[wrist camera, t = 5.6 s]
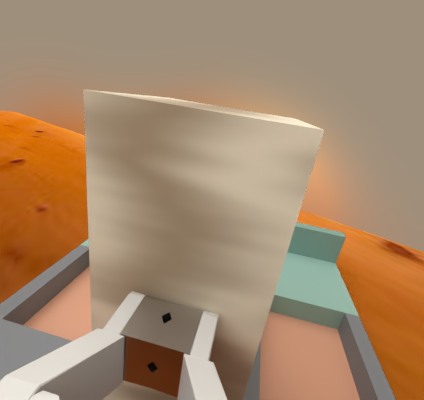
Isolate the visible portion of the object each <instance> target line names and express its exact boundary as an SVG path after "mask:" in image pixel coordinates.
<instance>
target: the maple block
mask: <svg viewBox="0 0 424 400" xmlns="http://www.w3.org/2000/svg"><path fill="white" fill-rule="evenodd" d="M84 114H85V144H86V175H87V205H88V235H89V265H90V296H91V326H92V331H94V330H96V329H98V328H99V329H103V328H104V327H105V325H106V324H107V323H108V321H109V320H110V319H111V317H112V316H113V314H114V313H115V312H116V310H117V309H118V308H119V306H120V305H121V304H122V302H123V301H124V300H125V298H126V297H127V296H128V294H129V293H131V292H132V291H134V292H137V293H141V294H144V295H148V296H152V297H155V298H158V299H162V300H165V301H168V302H172V303H176V304H180V305H184V306H188V307H192V308H195V309H199V310H203V311H207V312H211V313H215V314H218V315H219V318H218V323H217V327H216V332H215V337H214V342H213V347H212V352H211V356H210V362H213V363H214V365H215V367H216V370H217V373H218V376H219V378H220V381H221V384H222V386H223V389H224V392H225V395H226V397H227V400H243V397H244V393H245V390H246V387H247V383H248V380H249V377H250V373H251V370H252V367H253V364H254V360H255V357H256V354H257V350H258V347H259V344H260V341H261V337H262V334H263V331H264V327H265V324H266V321H267V317H268V314H269V311H270V308H271V304H272V301H273V298H274V294H275V291H276V288H277V284H278V281H279V278H280V275H281V271H282V268H283V265H284V261H285V258H286V255H287V252H288V248H289V245H290V242H291V238H292V235H293V232H294V228H295V225H296V222H297V219H298V215H299V212H300V208H301V205H302V202H303V198H304V196H305V192H306V189H307V185H308V182H309V179H310V175H311V172H312V169H313V165H314V163H315V159H316V156H317V152H318V149H319V146H320V143H321V139H322V136H323V133H324V130H323V129H321V128H318V127H315V126H313V125H310V124H307V123H305V122H303V121H300V120H297V119H294V118H287V117H282V116H276V115H270V114H263V113H257V112H251V111H244V110H239V109H233V108H227V107H221V106H215V105H208V104H203V103H197V102H191V101H185V100H178V99H172V98H164V97H155V96H145V95H134V94H124V93H113V92H103V91H93V90H84ZM103 400H177V397H174V396H171V395H168V394H165V393H163V392H160V391H157V390H154V389H151V388H148V387H145V386H141V385H138V384H134V383H131V382H127V381H123V383H122V384H121V385H120V386H118V387H117V388H116V389H115V390H114V391H112V392H111V393H110V394H109V395H108V396H106V397H105V398H104V399H103Z"/></svg>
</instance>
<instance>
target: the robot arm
mask: <svg viewBox="0 0 424 400" xmlns="http://www.w3.org/2000/svg"><path fill="white" fill-rule="evenodd" d="M218 318H219V315H218V314H215V313H211V312H207V311H203V310H199V309H195V308H192V307H188V306H184V305H180V304H176V303H172V302H168V301H165V300H162V299H158V298H155V297H152V296H148V295H144V294H141V293H137V292H134V291H132V292H131V293H129V294H128V296H127V297H126V298H125V300H124V301H123V302H122V304H121V305H120V306H119V308H118V309H117V310H116V312H115V313H114V314H113V316H112V317H111V319H110V320H109V321H108V323H107V324H106V325H105V327H104V328H103V329H99V328H98V329H96V330H94V331H92V332H90V333H88V334H86V335H84V336H82V337H80V338H78V339H76V340H74V341H72V342H70V343H68V344H66V345H64V346H62V347H60V348H58V349H56V350H54V351H52V352H50V353H48V354H47V355H45V356H43V357H41V358H39V359H37V360H35V361H33V362H31V363H29V364H27V365H25V366H23V367H21V368H19V369H17V370H15V371H13V372H11V373H9V374H7V375H6V376H5V377H4V378H3V379H2V380H1V381H0V400H103V399H104V398H105V397H106V396H108V395H109V394H110V393H111V392H112V391H114V390H115V389H116V388H117V387H118V386H120V385H121V384H122V383H123V381H127V382H131V383H134V384H138V385H141V386H145V387H148V388H151V389H154V390H157V391H160V392H163V393H165V394H168V395H171V396H174V397H177V400H227V397H226V395H225V392H224V389H223V386H222V384H221V381H220V378H219V376H218V373H217V370H216V367H215V365H214V363H213V362H210V356H211V352H212V347H213V342H214V337H215V332H216V327H217V323H218Z"/></svg>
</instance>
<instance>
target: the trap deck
mask: <svg viewBox="0 0 424 400" xmlns="http://www.w3.org/2000/svg"><path fill="white" fill-rule="evenodd" d="M345 238H346V237H345V235H344V234H343V232H338V231H333V230H329V229H324V228H320V227H315V226H310V225H306V224H301V223H297V222H296V225H295V228H294V232H293V235H292V238H291V242H290V245H289V248H288V252H287V255H286V258H285V261H284V265H283V268H282V271H281V275H280V278H279V281H278V284H277V288H276V291H275V294H274V298H273V301H272V304H271V308H270V311H269V314H268V317H267V321H266V324H265V327H264V331H263V334H262V337H261V341H260V344H259V347H258V350H257V354H256V357H255V360H254V364H253V367H252V370H251V373H250V377H249V380H248V383H247V387H246V390H245V393H244V397H243V400H396V399H395V397H394V395H393V392H392V390H391V388H390V386H389V383H388V381H387V379H386V376H385V374H384V372H383V370H382V367H381V365H380V363H379V361H378V358H377V356H376V354H375V352H374V349H373V347H372V345H371V343H370V340H369V338H368V336H367V333H366V331H365V329H364V327H363V324H362V322H361V320H360V318H359V315H358V313H357V311H356V309H355V306H354V304H353V302H352V300H351V297H350V295H349V293H348V290H347V288H346V286H345V284H344V281H343V279H342V277H341V275H340V272H339V270H338V268H337V266H336V261H337V258H338V256H339V253H340V251H341V248H342V245H343V243H344V240H345ZM90 332H92V326H91V296H90V265H89V239H88V240H86V241H85V242H84V243H82V244H81V245H79V246H78V247H77V248H75V249H74V250H73V251H71V252H70V253H69V254H67V255H66V256H65V257H63V258H62V259H61V260H59V261H58V262H57V263H55V264H54V265H52V266H51V267H50V268H48V269H47V270H46V271H44V272H43V273H42V274H40V275H39V276H38V277H36V278H35V279H34V280H32V281H31V282H29V283H28V284H27V285H25V286H24V287H23V288H21V289H20V290H19V291H17V292H16V293H15V294H13V295H12V296H11V297H9V298H8V299H7V300H5V301H4V302H2V303H1V304H0V381H1V380H2V379H3V378H4V377H5V376H6V375H7V374H9V373H11V372H13V371H15V370H17V369H19V368H21V367H23V366H25V365H27V364H29V363H31V362H33V361H35V360H37V359H39V358H41V357H43V356H45V355H47V354H48V353H50V352H52V351H54V350H56V349H58V348H60V347H62V346H64V345H66V344H68V343H70V342H72V341H74V340H76V339H78V338H80V337H82V336H84V335H86V334H88V333H90Z"/></svg>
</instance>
